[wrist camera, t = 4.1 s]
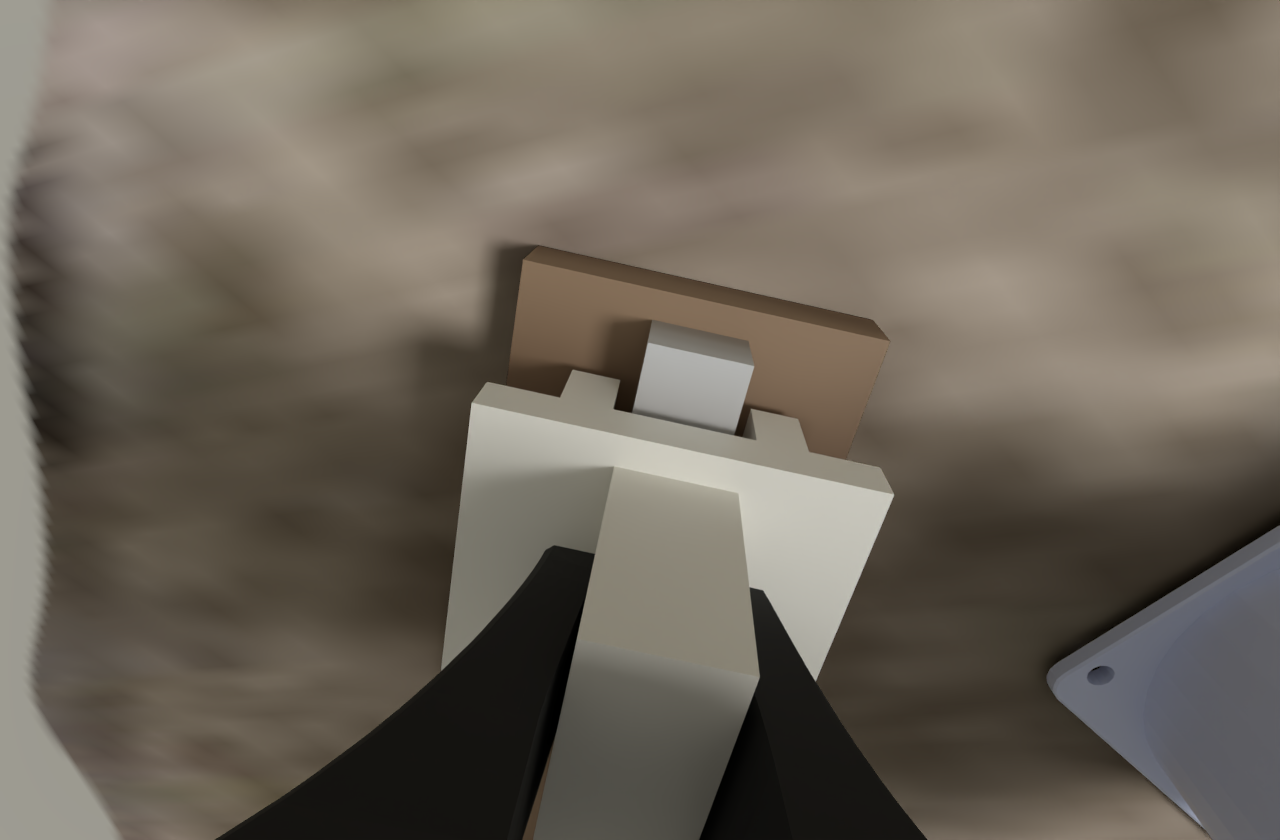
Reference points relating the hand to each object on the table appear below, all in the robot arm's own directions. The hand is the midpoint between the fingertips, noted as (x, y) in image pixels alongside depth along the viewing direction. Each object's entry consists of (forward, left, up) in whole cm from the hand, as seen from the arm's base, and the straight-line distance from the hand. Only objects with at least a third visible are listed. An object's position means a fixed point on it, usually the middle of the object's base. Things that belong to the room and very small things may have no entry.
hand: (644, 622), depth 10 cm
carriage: (0, 0, -3) cm, 3 cm away
